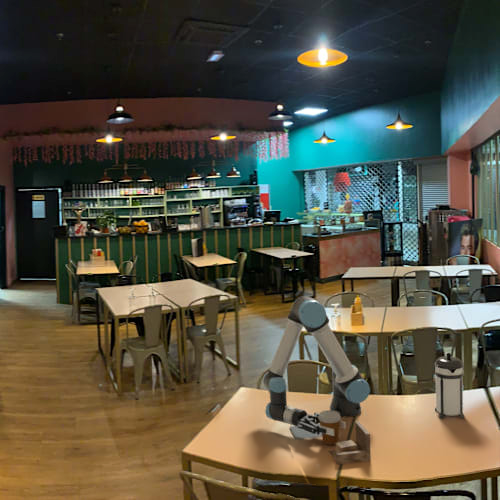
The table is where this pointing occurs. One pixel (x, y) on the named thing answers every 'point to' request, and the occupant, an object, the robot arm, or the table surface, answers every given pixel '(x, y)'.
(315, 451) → the table surface
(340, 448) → the offcut stack
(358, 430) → the offcut rack
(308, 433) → the slate mat
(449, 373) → the coffee press
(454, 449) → the table surface
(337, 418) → the disposable coffee cup
